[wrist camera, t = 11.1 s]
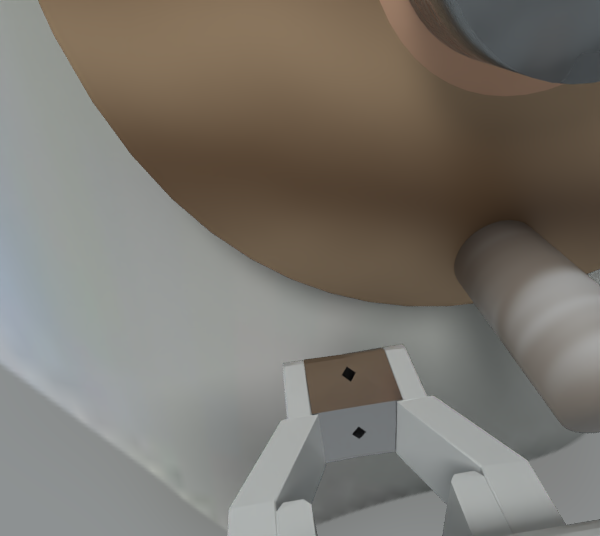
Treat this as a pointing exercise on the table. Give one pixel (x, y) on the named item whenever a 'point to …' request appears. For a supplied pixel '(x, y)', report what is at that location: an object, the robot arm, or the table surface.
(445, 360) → the table surface
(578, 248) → the turntable
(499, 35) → the pot lid
